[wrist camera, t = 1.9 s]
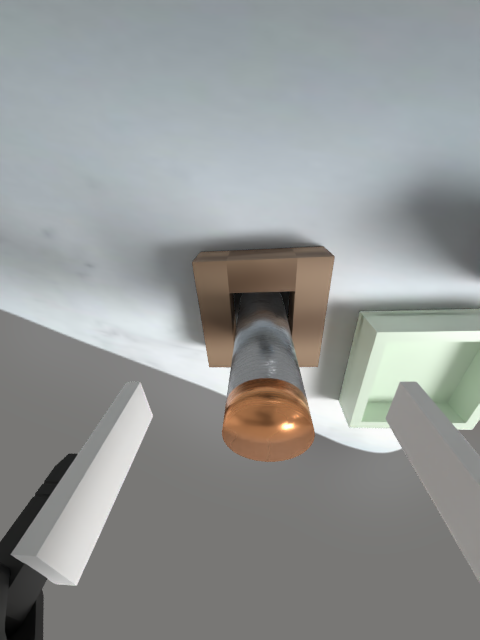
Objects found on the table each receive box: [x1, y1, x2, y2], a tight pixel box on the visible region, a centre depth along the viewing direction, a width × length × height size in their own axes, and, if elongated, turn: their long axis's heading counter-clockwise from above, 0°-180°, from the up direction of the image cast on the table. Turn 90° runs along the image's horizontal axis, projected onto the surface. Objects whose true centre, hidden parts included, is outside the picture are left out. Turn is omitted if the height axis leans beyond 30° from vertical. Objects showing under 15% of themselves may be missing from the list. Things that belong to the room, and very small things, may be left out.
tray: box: [339, 309, 480, 430], centre depth 22 cm, size 12×12×4 cm
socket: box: [192, 246, 335, 367], centre depth 20 cm, size 10×10×3 cm
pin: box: [222, 292, 315, 462], centre depth 16 cm, size 4×4×13 cm
